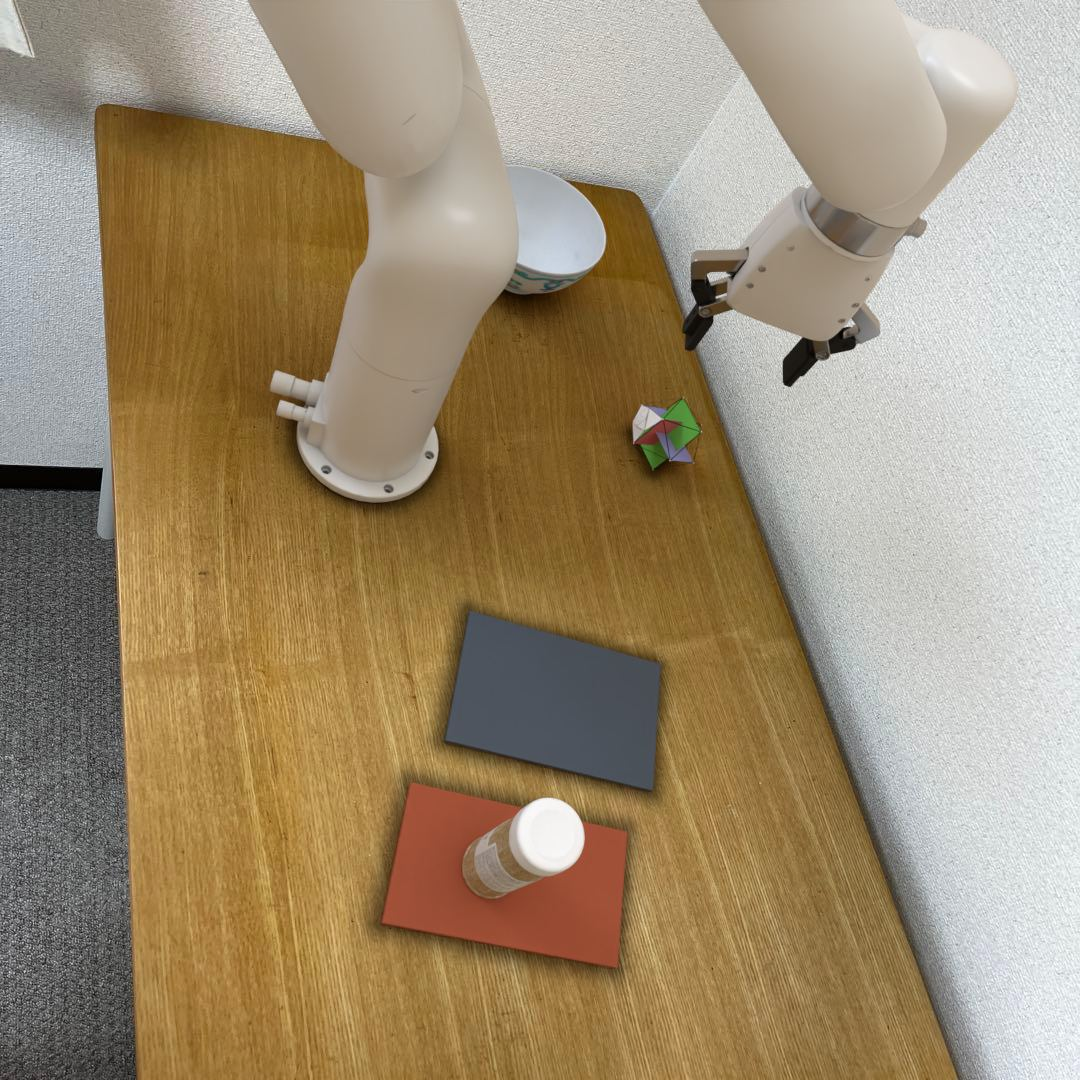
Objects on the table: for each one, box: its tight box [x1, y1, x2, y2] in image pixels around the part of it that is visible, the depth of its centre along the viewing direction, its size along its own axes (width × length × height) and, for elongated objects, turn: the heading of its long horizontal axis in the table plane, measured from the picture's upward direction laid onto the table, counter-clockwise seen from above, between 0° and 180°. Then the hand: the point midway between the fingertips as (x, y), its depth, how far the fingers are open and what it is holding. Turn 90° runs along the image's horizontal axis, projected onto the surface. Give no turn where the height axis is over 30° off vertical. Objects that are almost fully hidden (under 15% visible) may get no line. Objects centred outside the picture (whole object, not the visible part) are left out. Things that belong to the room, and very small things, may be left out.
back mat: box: [443, 610, 662, 793], centre depth 75 cm, size 18×12×1 cm, turn 82°
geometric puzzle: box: [631, 396, 703, 471], centre depth 90 cm, size 7×7×8 cm
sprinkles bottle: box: [462, 797, 585, 899], centre depth 61 cm, size 5×5×14 cm
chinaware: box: [504, 164, 607, 295], centre depth 95 cm, size 15×15×8 cm
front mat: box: [380, 782, 628, 969], centre depth 67 cm, size 18×10×1 cm, turn 82°
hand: (737, 356), depth 80 cm, fingers open, 9 cm apart
